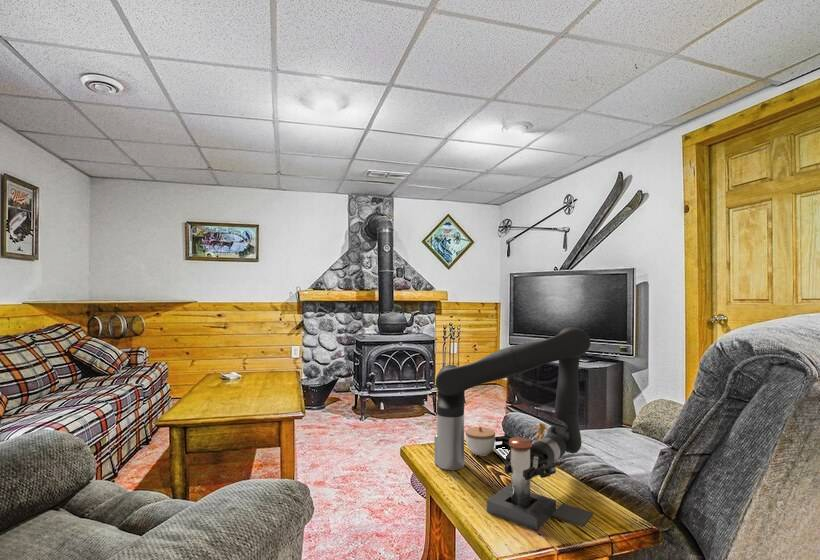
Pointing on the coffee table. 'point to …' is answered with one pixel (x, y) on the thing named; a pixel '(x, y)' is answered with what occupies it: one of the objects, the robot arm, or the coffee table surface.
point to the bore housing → (526, 517)
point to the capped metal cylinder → (520, 471)
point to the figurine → (540, 431)
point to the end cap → (503, 441)
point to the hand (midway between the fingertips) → (516, 473)
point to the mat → (572, 514)
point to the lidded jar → (480, 440)
